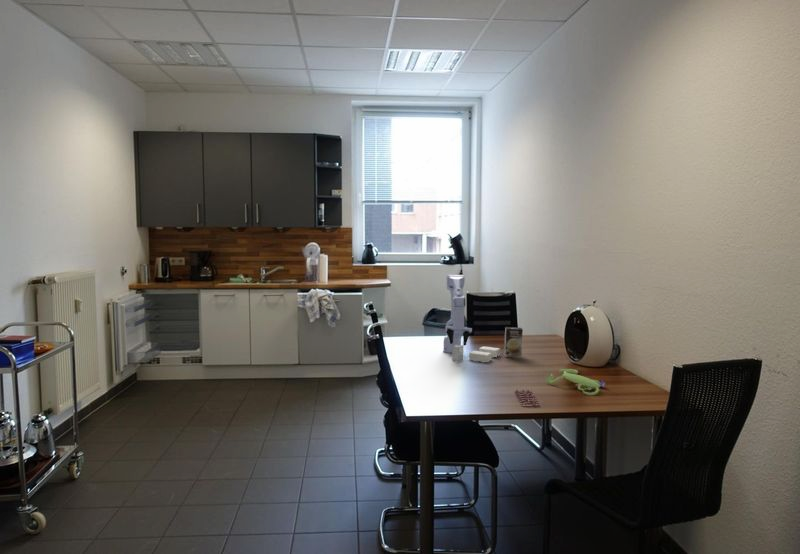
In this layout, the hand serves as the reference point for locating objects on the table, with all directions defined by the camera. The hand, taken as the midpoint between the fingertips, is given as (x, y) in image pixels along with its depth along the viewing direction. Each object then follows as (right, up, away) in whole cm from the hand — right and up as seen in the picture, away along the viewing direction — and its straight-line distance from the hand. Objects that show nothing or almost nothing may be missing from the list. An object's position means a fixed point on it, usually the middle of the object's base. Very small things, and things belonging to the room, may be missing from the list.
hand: (458, 344), depth 294 cm
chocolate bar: (+22, -16, -65) cm, 71 cm away
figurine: (+49, -14, -44) cm, 67 cm away
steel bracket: (0, -9, +1) cm, 9 cm away
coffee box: (+31, -9, +12) cm, 34 cm away
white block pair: (+16, -8, +8) cm, 19 cm away
